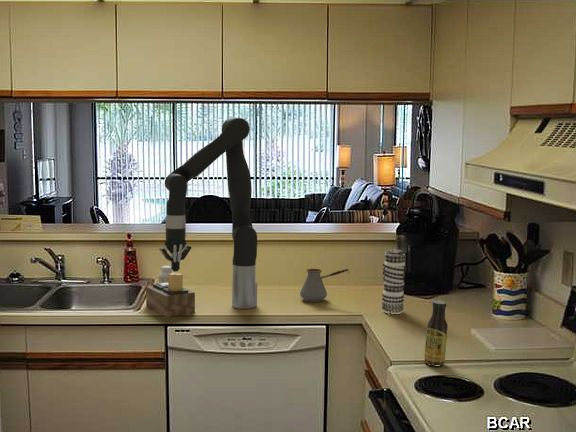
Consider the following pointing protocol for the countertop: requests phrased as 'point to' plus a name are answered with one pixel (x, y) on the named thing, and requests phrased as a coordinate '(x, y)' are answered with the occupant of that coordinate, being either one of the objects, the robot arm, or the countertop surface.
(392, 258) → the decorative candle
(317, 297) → the coffee pot
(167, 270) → the supplement bottle
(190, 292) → the walnut block
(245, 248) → the robot arm
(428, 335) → the sauce bottle
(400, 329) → the countertop surface
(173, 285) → the ochre peg
